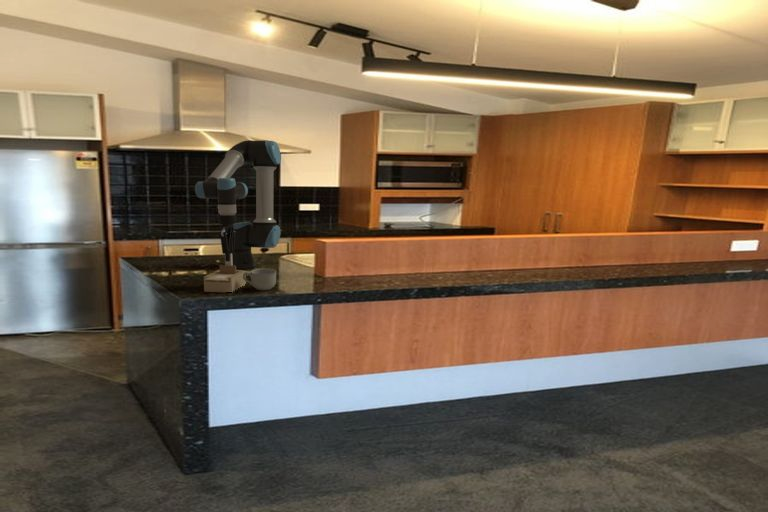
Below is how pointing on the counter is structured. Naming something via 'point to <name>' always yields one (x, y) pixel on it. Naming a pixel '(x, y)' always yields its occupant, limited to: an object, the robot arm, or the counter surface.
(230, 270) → the lid
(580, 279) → the counter surface
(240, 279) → the box
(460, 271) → the counter surface
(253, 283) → the teacup
